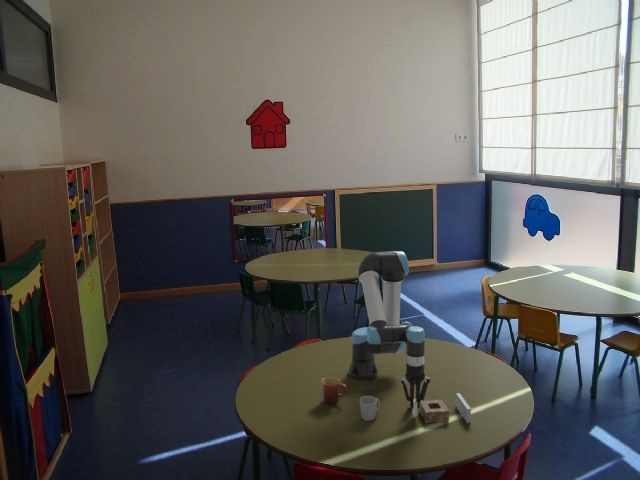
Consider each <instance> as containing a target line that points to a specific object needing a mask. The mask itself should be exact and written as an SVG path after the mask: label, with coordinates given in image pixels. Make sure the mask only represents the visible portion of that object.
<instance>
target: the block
mask: <svg viewBox="0 0 640 480" xmlns="http://www.w3.org/2000/svg"><path fill="white" fill-rule="evenodd" d="M419 413H420V415H421V416H423V417H422V419H423V418H424V419H423V420H425V421H424V422H425V424H433V423H447V422H446V421H449V422H450V410H449V408H448V406H447V405H446V404H445V402H444V401H443V399H430V400H421V401H420V405H419ZM443 421H445V422H443Z"/></svg>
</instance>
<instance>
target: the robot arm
mask: <svg viewBox="0 0 640 480" xmlns="http://www.w3.org/2000/svg"><path fill="white" fill-rule="evenodd" d="M409 266H410V265H409V261H408V257H407V255H406V253H405V252H404V251H399V250H398V251H397V250H393V251H375V252H374V251H372V252H371V253H368V254H367V255H366V256H364V257H363V258H362V259H361V261H360V264H359V265H358V269H357V277H358V282H360V283H361V286H362V291H363V295H364V301H365V302H364V303H365V307H366V311H367V316H368V321H369V326H368V327H366V326H365V327H360V328H356V329H355V330H354V331H352V333H351V341H350V342H351V361H350V365H349V366H348V367H349V368H348V376H349V377H351V378H352V379H355V380H359V381H368V380H373V379H376V378H377V377H379V368H378V365H377V363H376V355H388V354H399V353H402V352H403V351H404V349H405V348H406V353H405V354H406V357H405V358H406V359H405V360H406V361H405V362H406V364H405V367H406V369H405V375H404V377H400V378H399V380H400V381H399V382H400V384H401V385H402V389H403V391H404V395H405V396H404V398H406V401H407V402H408V401H410V407H411V409H410V410H411V414H412V416H413V417H418V409H420V401H425V396H426V393H427V390H428V385H429V383H430V382H431V379H430V377H429V376H427V375H426V374H425V348H426V347H425V344H426V342H425V341H426V340H425V339H426V336H425V335H426V333H425V329H424V328H423V327H420V326H417V325H414V324H412V322H409V321H404V322H401V323H400V319H401V318H400V316H401V295H402V294H401V293H402V282H404V280H405V276H407V275H409V273H410V267H409ZM379 278H380V279H381V280H382V283H383V284H382V285H383V287H382V293H383V294H381V289H380V285H379ZM405 346H406V347H405ZM407 382H409V383H410V397H409V394H408V388H407ZM422 382H423V383H422ZM421 383H422V385H421ZM414 385H415V399H414ZM421 386H422V387H421Z"/></svg>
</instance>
